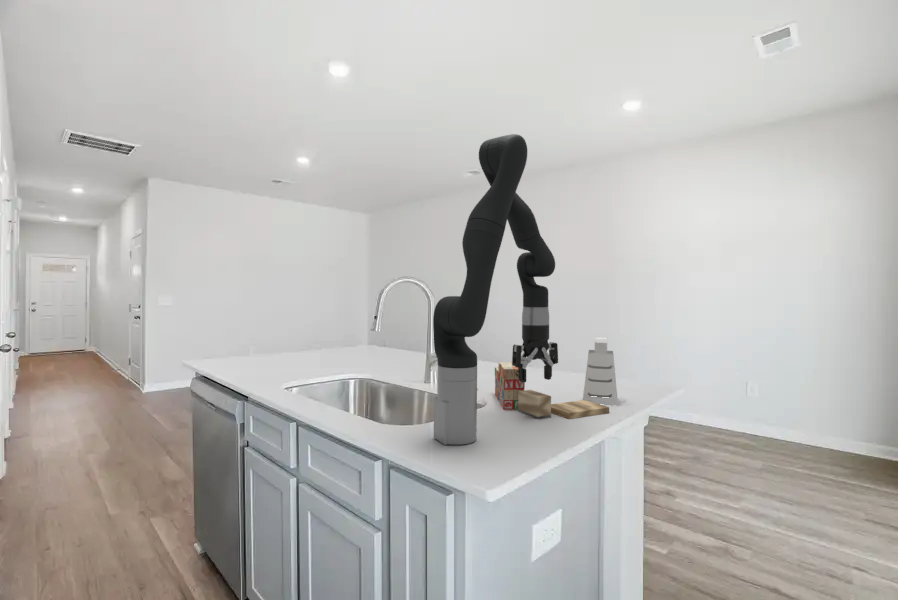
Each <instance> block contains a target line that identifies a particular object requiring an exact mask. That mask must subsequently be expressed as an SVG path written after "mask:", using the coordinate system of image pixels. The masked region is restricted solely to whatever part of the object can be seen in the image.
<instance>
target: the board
mask: <svg viewBox="0 0 898 600" xmlns="http://www.w3.org/2000/svg"><path fill="white" fill-rule="evenodd" d="M609 413H610V406H607V405H600V404H596V403H593V402H590V401H586V400H583V399H581V400H574V401H573V400H571V401H567V402H566V401H564V402H558V403H551V414H553V415H555V416H556V415H557V416H559V417H563V418H565V419H568V420H570V419H571V420H573V419H578V418H585V417H590V416H591V415H592V416H598V414H599V415H605V414H609ZM592 416H591V417H592Z"/></svg>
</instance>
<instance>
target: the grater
mask: <svg viewBox="0 0 898 600" xmlns="http://www.w3.org/2000/svg"><path fill="white" fill-rule="evenodd" d="M587 352H588V354H587V362H586V370H585V379H584V387H583V388H584V389H583V394H582V400H586V401H590V402H593V403H596V404H604V405H603V406H607V405H616V406H615V407H619V401H618V400H619V399H618V389H617V378H616V368H615V359H614V358H615V357H614V351H613V350H608V337H600V336H599V337H596V336H595V337H594V349H589V350H588V351H587ZM591 396H597V397H591ZM602 397H609V398H602Z"/></svg>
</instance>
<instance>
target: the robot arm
mask: <svg viewBox="0 0 898 600" xmlns="http://www.w3.org/2000/svg"><path fill="white" fill-rule="evenodd" d="M527 160H528V145H527V142H526V140H525V138H524V137H523V136H522V135H520V134H517V133H516V134H515V133H514V134H513V133H511V134H506V135H501V136H497V137H494V138H490V139H489V138H488V139H486V140H485V141H483V142H482V143H481V145H480V147H479V149H478V161H479V165H480V167H481V170H482V172H483V175H485V178H486V180H487V182H488V184H489V185H490V187H489V189H488V190H487V191H486V192H485V194H484V195H483V196H482V197H481V199H480V200H479V201H478V203H476V204H475V206H474V207H473V209H472V210H471V212H470V214H469V216H468V217H467V222H466V225H465V229H464V233H463V236H462V243H461V244H462V252H463V256H464V260H465V261H464V262H465V266H466V275H465V276H466V277H465V281H464V285H463V289H462V291H461V295H458V296H457V295H451V296H450V295H449V296H444V297H442V298H440V300H438V301H437V303H436V305H435V307H434V310H433V316H432V317H433V318H432V319H433V320H432V325H433V326H432V327H433V329H432V330H433V348H434V352H435V353H434V354H435V356H436V359H437V384H436V385H437V389H436V390H437V394H436V396H435V397H434V398H433V438H434V439H436V440H437V441H438V442H440V443H442V444H443V445H444V446H448V445H456V446H457V445H468V444H472V443H474V442H476V440H477V431H478V429H477V424H478V423H477V422H478V418H477V416H478V412H477V411H478V409H477V408H478V354H477V353H476V352H475V351H474V350H473V349H471V348H470V346H469V345H468V344H467V342H466V338H471V337H475V336H476V335H478V334H479V333H480V331H481V330H482V328H483V326H484V324H485V322H486V321H485V320H486V316H487V311H488V306H489V298H490V292H491V286H492V280H493V277H494V272H495V269H496V264H497V260H498V255H499V253H500V249H501V246H502V242H503V238H504V234H505V230H506V226H507V222H508V225H509V228H510V231H511V234H512V236H513V240H514V243H515V245H516V247H517V248H518V249H520V250H523V251H526V252H523V253H521V254H520V255H519V256H518V258H517V262H516V271H517V274H518V279H519V282H520V286H521V290H522V312H521V339H522V341H523V342H522V345H521V344H513V345H512V355H511V356H512V357H511V358H512V359H511V362H512V365H513V366H515V367H518V378H519V380H520V382H525V383H527V367H528V365H529V363H531V362H532V361H534V360H540V361H542V362H543V363H544V366H543V378H544V380H548V381H549V380H552V376H553V366H554V365H557V364H558V363H559V348H558V342H553V341H550V342H549V339H550V310H549V309H550V308H549V288H548V287H546V286H545V285H540V284H537V282H536V280H535V278H545V277H546V278H547V277H550V276H551V275H552V274H553V273H554V271H555V269H556V261H555V256H554V254H553V253H552V251H551V249H550V248H549V246H548V244H547V243H546V242H545V240H544V238H543V237H542V235H541V233H540V229H539V226H538V223H537V219H536V217H535V214H534V212H533V211H532V209H531V207H530V206H529V205H528V204H527V203H526V202H525V201H524V199H522V198H521V196H519V194H518V193H517V189H518V186H519V185H520V181H521V179H522V175H523V174H524V170H525V168H526V165H527ZM527 251H528V252H527Z"/></svg>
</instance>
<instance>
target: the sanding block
mask: <svg viewBox="0 0 898 600" xmlns="http://www.w3.org/2000/svg"><path fill="white" fill-rule="evenodd" d="M551 404H552V395H549V394H545V393H542V392H539V391H537V390H534V389H533V390H532V389H528V390H527V389H526V390H525V389H524V391H519V392H518V410H517V412H519V413H521V414H524V415H526V416H529V417H530V418H534V419H536V420H543V419H549V418H552V413H551Z"/></svg>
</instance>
